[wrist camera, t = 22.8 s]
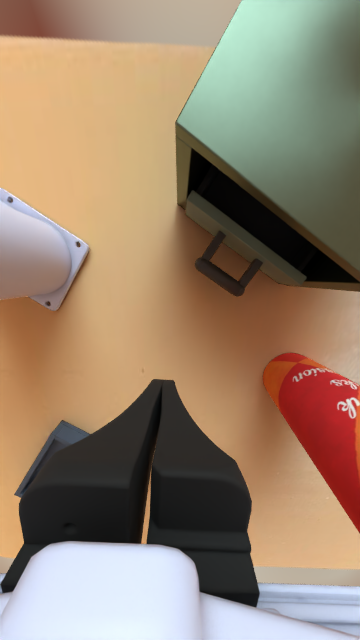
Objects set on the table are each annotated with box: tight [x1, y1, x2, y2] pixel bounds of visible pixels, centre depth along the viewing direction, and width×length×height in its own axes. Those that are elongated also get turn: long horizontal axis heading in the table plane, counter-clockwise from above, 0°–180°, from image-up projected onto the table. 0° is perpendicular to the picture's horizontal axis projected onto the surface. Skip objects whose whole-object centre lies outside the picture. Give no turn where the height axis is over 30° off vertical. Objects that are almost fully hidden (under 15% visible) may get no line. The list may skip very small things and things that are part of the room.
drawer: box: [185, 165, 319, 296], centre depth 16 cm, size 11×15×4 cm
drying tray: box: [14, 420, 91, 498], centre depth 24 cm, size 13×11×2 cm
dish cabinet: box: [175, 0, 360, 292], centre depth 13 cm, size 14×12×10 cm
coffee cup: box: [263, 353, 360, 533], centre depth 15 cm, size 8×8×15 cm
